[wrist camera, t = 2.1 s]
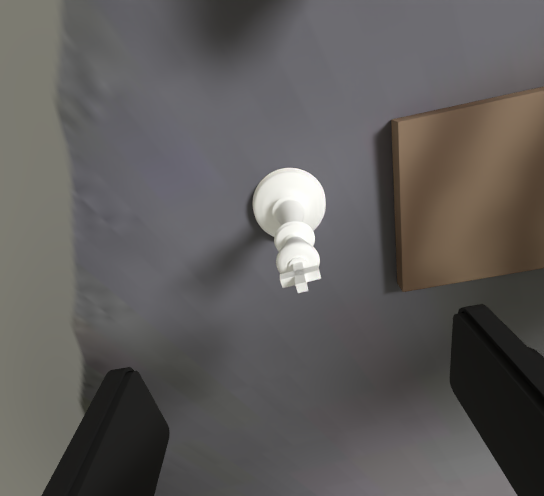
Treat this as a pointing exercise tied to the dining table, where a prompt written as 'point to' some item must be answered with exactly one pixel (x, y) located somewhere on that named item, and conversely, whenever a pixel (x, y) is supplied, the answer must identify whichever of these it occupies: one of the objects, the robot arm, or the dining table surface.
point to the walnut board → (469, 190)
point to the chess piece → (292, 222)
